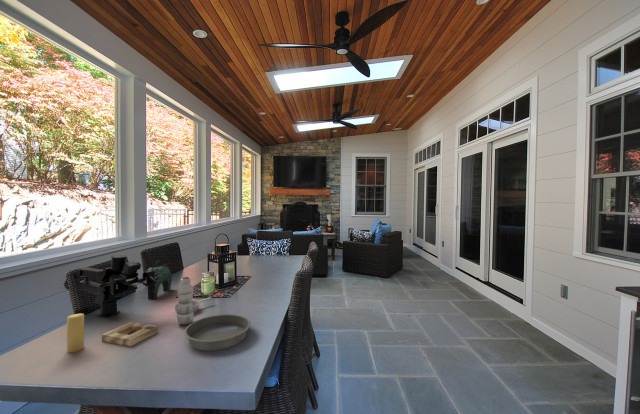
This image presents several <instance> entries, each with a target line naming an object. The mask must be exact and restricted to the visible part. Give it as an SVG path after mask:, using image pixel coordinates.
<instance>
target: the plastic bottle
mask: <svg viewBox="0 0 640 414" xmlns="http://www.w3.org/2000/svg"><path fill="white" fill-rule="evenodd" d="M176 292H177V299H178V303H179V311H178V313H177V318H176V320H177V323H178V324H179V325H181V326H185V325H186V326H187V325H190V324H191V323H193V322H194V319H195V315H194V314H195V313H193V307H192V301H193V300H194V298H193V297H194V287H193V285H192V284H191V277H190V276H185V277H181V278H180V285H179V287H178V288H177V291H176Z"/></svg>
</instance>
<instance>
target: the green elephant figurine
mask: <svg viewBox="0 0 640 414" xmlns="http://www.w3.org/2000/svg"><path fill="white" fill-rule="evenodd" d="M158 262H159V263H161V260H157V261H155V267H154V266H152V267H148V269H147V270H146V271H154V279H155V280H156V281H157V283H156V284H153V285H148V286H147V300H156V299H157V298H158V291H159V289H160V285H161V284H162V291H163V292H170V290H171V287H172V280H173V279H172V278H173V277H172V272H171V270H170V268H169V266H168V264H166V263H165V264H162V265H161V266H159V265H158V266H157V263H158Z"/></svg>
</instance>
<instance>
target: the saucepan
mask: <svg viewBox="0 0 640 414" xmlns="http://www.w3.org/2000/svg"><path fill="white" fill-rule="evenodd" d="M210 299H212V297H211V296H209V297H207V298H204V299H201V300H198V301H197V300H192V307H193V313H194V314H195V313H196V312H198V310H199V307H200V303H202V302H205V301H208V300H210ZM174 311H175V313H177V314H178V311H179V302H178V303H177V304H175V305H174Z"/></svg>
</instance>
